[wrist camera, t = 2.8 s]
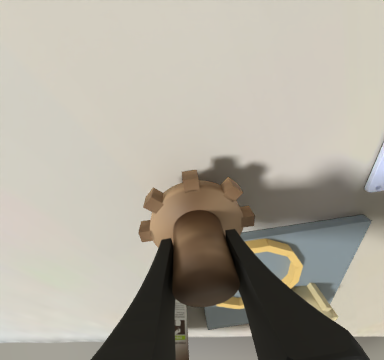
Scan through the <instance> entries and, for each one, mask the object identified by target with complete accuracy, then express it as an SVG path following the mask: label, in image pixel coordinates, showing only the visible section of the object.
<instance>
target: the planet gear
mask: <svg viewBox="0 0 384 360" xmlns="http://www.w3.org/2000/svg"><path fill="white" fill-rule="evenodd" d="M182 179H183V183H180V184H177V185H175V186H173V187H171V188H170V189H168V190H167V191H165V192H164V193H162V192H160V191H158V190H157V189H155V188H153V189H152V190H151V191H150V192H149V194H148V195H147V196H146V199H145V203H144V206H143V207H144V208H146V209H148V210H149V211H151V212H152V216H151V220H147V221H141V225H140V229H139V235H140V238H141V241H142V242H147V241H154V243H155V244H156V246H157V247H158V248H159V245H160V242H161V240H162V239H168V238H171V239H172V243H173V287H172V292H173V296H174V297H175V299H176V300H177V301H179V302H180V303H182V304H184V305H187V306H192V307H209V306H214V305H217V304H220V303H223V302H225V301H227V300H229V299H230V298H231V297H233V296H234V295H235V294H236V293H237V291H238V289H239V287H240V281H239V278H238V275H237V272H236V269H235V265H234V262H233V259H232V256H231V253H230V250H229V247H228V243H227V240H226V234H225V230H230V229H235V230H236V231H237V232H238V234H239V235H241V232H242V230H243V227H248V226H254V219H255V215H254V214H253V212H252V210H251V208H250V207H249V206H243V207H239V205H238V203H237V201H236V199H237V198H238V197H239V196H240V195H241V194H243V192H242V190H241V188H240V187H239V185H238V184H237V183H236V182H235V181H233V180H232V179H231V178H229V177H227V179H226V180H225V181H224V182H223V183H222V184H221V185H219V184H217V183H214V182H210V181H203V180H199V179H198V174H197V170H192V171H185V172H182Z"/></svg>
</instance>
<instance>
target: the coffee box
mask: <svg viewBox="0 0 384 360" xmlns="http://www.w3.org/2000/svg"><path fill="white" fill-rule="evenodd" d="M175 351H176V360H189V350H188V330H187V307H186V305H184V304H182V303H180V302H179V301H177V300H175Z"/></svg>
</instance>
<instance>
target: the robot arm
mask: <svg viewBox="0 0 384 360" xmlns="http://www.w3.org/2000/svg"><path fill="white" fill-rule="evenodd" d="M365 190H366V191H368V192H377V191H384V143H383V146H382V148H381V150H380V153H379V155H378V157H377V160H376V162H375V164H374V167H373V169H372V172H371V174H370V176H369V179H368V181H367V183H366V186H365ZM225 234H226V240H227V243H228V247H229V250H230V253H231V256H232V259H233V262H234V265H235V269H236V272H237V275H238V278H239V281H240V287H239V289H238V290H239V293H240V296H241V298H242V301H243V304H244V307H245V311H246V315H247V318H248V322H249V326H250V329H251V333H252V337H253V340H254V345H255V348H256V352H257V356H258V360H370V359H369V358H368V356H367V355H366V353H365V352H364V350H363V349H362V348H361V346H360V345H359V344H358V342H357V341H356V340H355V339H354V337H353V336H352V335H351V334H350V332H349V331H348V330H346V329H345V328H343V327H342V326H340V325H339V324H337V323H336V322H334V321H333V320H331V319H330V318H328V317H327V316H326V315H324V314H323V313H321V312H320V311H319V310H317V309H316V308H315V307H313V306H312V305H310V304H309V303H308V302H307V301H305V300H304V299H303V298H302V297H300V296H299V295H298V294H297V293H295V292H294V291H293V290H292V289H290V288H289V287H288V286H287V285H286V284H285V283H283V282H282V281H281V280H280V279H279V278H278V277H277V276H276V275H275V274H274V273H273V272H272V271H271V270H270V269H269V268H268V267H267V266H266V265H265V264H264V263H263V262H262V261H261V260H260V259H259V258H258V257H257V256H256V255H255V254H254V252H253V251H252V250H251V249H250V248H249V247H248V245H247V244H246V243H245V242H244V240H243V239H242V238H241V236H240V235H239V234H238V232H237V231H236V230H235V229H230V230H225ZM172 287H173V243H172V239H171V238H168V239H162V240H161V242H160V245H159V248H158V251H157V253H156V256H155V258H154V261H153V263H152V265H151V268H150V270H149V272H148V274H147V276H146V278H145V280H144V282H143V284H142V286H141V288H140V290H139V291H138V293H137V295H136V297H135V298H134V300H133V302H132V303H131V305H130V306H129V308H128V310H127V311H126V313H125V314H124V316H123V317H122V319H121V320H120V322H119V323H118V325H117V326H116V327H115V329H114V330H113V331H112V333H111V334H110V336H109V337H108V338H107V340H106V341H105V342H104V344H103V345H102V346H101V348H100V349H99V350H98V351H97V353H96V354H95V355H94V356H93V358H92V359H91V360H176V351H175V300H176V299H175V297H174V296H173V292H172Z"/></svg>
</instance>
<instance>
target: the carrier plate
mask: <svg viewBox="0 0 384 360" xmlns="http://www.w3.org/2000/svg"><path fill="white" fill-rule="evenodd" d="M371 221H372V220H370V219H369V218H367V217H366V216H364V215H357V216H350V217H344V218H337V219H331V220H324V221H317V222H311V223H304V224H297V225H291V226H284V227H278V228H271V229H264V230H258V231H251V232H245V233H241V235H240V236H241V238H242V239H243V240H244V242H245V243H246V244H247V245H248V247H249V248H250V249H251V250H252V251H253V252H254V254H255V255H256V256H257V257H258V258H259V259H260V260H261V261H262V262H263V263H264V264H265V265H266V266H267V267H268V268H269V269H270V270H271V271H272V272H273V273H274V274H275V275H276V276H277V277H278V278H279V279H280V280H281V281H282V282H283V283H285V284H286V285H287V286H288V287H289V288H290V289H292V290H293V291H294V292H295V293H297V294H298V295H299V296H300V297H302V298H303V299H304V300H305V301H307V302H308V303H309V304H310V305H312V306H313V307H315V308H316V309H317V310H319V311H320V312H321V313H323V314H324V315H326V316H327V317H328V318H330V319H331V320H333V321H334V320H337V318H338V316H337V314H336V313H335V311H334V310H333V309H332V307H331V306H330V303H331V301H332V299H333V297H334V295H335V293H336V291H337V289H338V287H339V285H340V283H341V281H342V279H343V277H344V275H345V273H346V271H347V269H348V267H349V265H350V263H351V261H352V259H353V257H354V255H355V253H356V251H357V249H358V247H359V245H360V243H361V241H362V239H363V237H364V235H365V233H366V231H367V229H368V227H369V225H370V223H371ZM204 309H205V316H206V322H207V328H208V330H210V329H217V328H223V327H229V326H236V325H242V324H248V323H249V322H248V318H247V315H246V311H245V307H244V304H243V301H242V298H241V296H240V293H239V290H238V291H237V293H236V294H235V295H234V296H233V297H231V298H230V299H229V300H227V301H225V302H223V303H220V304H217V305H214V306H209V307H204Z"/></svg>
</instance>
